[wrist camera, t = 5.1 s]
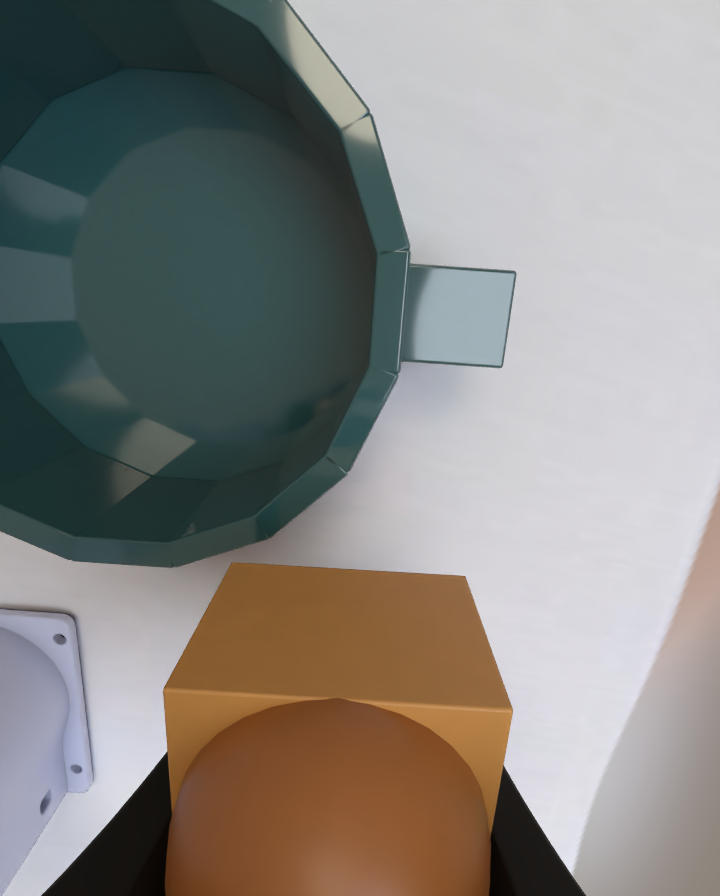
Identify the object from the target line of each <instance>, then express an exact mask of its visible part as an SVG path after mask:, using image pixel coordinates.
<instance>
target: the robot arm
mask: <svg viewBox="0 0 720 896" xmlns="http://www.w3.org/2000/svg"><path fill="white" fill-rule="evenodd" d="M60 634H61V635H63V636H64V637H65V638H63V637H62V636H60ZM92 783H93V773H92V764H91V756H90V747H89V738H88V730H87V721H86V712H85V704H84V695H83V686H82V678H81V669H80V660H79V652H78V643H77V634H76V625H75V622H74V620H73V619H72V618H71V617H70V616H68V615H66V614H61V613H47V612H32V611H17V610H3V609H0V896H2V895H3V894H4V892H5V890H6V889H7V887H8V886H9V884H10V882H11V881H12V879H13V878H14V876H15V874H16V873H17V871H18V870H19V868H20V866H21V865H22V863H23V862H24V860H25V858H26V857H27V855H28V854H29V852H30V850H31V849H32V847H33V846H34V844H35V842H36V841H37V839H38V838H39V836H40V834H41V833H42V831H43V830H44V828H45V826H46V825H47V823H48V822H49V820H50V818H51V817H52V815H53V814H54V812H55V810H56V809H57V807H58V806H59V804H60V802H61V801H62V799H63V798H64V796H65V794H66V793H67V792H70V793H84V792H86V791H88V789H89V788H90V786H91V785H92ZM171 818H172V806H171V792H170V779H169V765H168V751H167V752H166V754H165V755H164V756H163V757H162V759H161V760H160V761H159V763H158V764H157V765H156V766H155V768H154V769H153V770H152V771H151V773H150V774H149V775H148V776H147V778H146V779H145V780H144V781H143V783H142V784H141V785H140V786H139V787H138V789H137V790H136V791H135V792H134V793H133V795H132V796H131V797H130V798H129V799H128V801H127V802H126V803H125V804H124V805H123V807H122V808H121V809H120V810H119V811H118V813H117V814H116V815H115V816H114V817H113V818H112V820H111V821H110V822H109V823H108V824H107V825H106V826H105V828H104V829H103V830H102V831H101V832H100V833H99V834H98V835H97V836H96V838H95V839H94V840H93V841H92V842H91V843H90V844H89V845H88V846H87V848H86V849H85V850H84V851H83V852H82V853H81V854H80V855H79V856H78V858H77V859H76V860H75V861H74V862H73V863H72V864H71V865H70V866H69V867H68V868H67V869H66V871H65V872H64V873H63V874H62V875H61V876H60V877H59V878H58V879H57V880H56V881H55V882H54V883H53V884H52V885H51V886H50V887H49V888H48V889H47V890H46V891H45V892H44V893H43V894H42V895H41V896H165V872H166V858H167V847H168V836H169V825H170V821H171ZM490 840H491V860H490V889H489V896H586V895H585V894H584V892H583V891H582V889H581V888H580V886H579V885H578V884H577V882H576V881H575V879H574V878H573V876H572V875H571V873H570V872H569V870H568V869H567V867H566V866H565V864H564V863H563V861H562V860H561V858H560V857H559V855H558V854H557V852H556V851H555V849H554V848H553V846H552V845H551V843H550V841H549V840H548V838H547V837H546V835H545V834H544V832H543V831H542V829H541V827H540V826H539V824H538V823H537V821H536V820H535V818H534V816H533V815H532V813H531V811H530V810H529V808H528V806H527V805H526V803H525V802H524V800H523V798H522V796H521V795H520V793H519V791H518V790H517V788H516V786H515V785H514V783H513V781H512V779H511V778H510V776H509V774H508V772H507V771H506V769H505V767H504V765H503V770H502V775H501V781H500V787H499V792H498V798H497V804H496V809H495V815H494V821H493V826H492V832H491V837H490Z"/></svg>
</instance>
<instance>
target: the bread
mask: <svg viewBox="0 0 720 896" xmlns="http://www.w3.org/2000/svg"><path fill="white" fill-rule="evenodd" d="M163 696H164V709H165V723H166V737H167V751H168V765H169V779H170V792H171V806H172V818H171V821H170V825H169V836H168V847H167V858H166V872H165V896H489V889H490V860H491V840H490V837H491V832H492V826H493V821H494V815H495V809H496V804H497V798H498V792H499V787H500V781H501V775H502V770H503V764H504V759H505V753H506V747H507V742H508V736H509V730H510V725H511V719H512V714H513V709H512V706H511V703H510V701H509V698H508V695H507V692H506V689H505V686H504V684H503V681H502V678H501V675H500V672H499V670H498V667H497V664H496V661H495V658H494V656H493V653H492V650H491V647H490V644H489V642H488V639H487V636H486V633H485V630H484V628H483V625H482V622H481V619H480V616H479V614H478V611H477V608H476V605H475V602H474V599H473V597H472V594H471V591H470V588H469V585H468V583H467V580H466V577H465V576H456V575H439V574H422V573H405V572H388V571H371V570H354V569H337V568H320V567H303V566H286V565H269V564H252V563H235V562H233V563H231V565H230V567H229V569H228V571H227V572H226V574H225V576H224V578H223V580H222V582H221V584H220V585H219V587H218V589H217V591H216V593H215V595H214V596H213V598H212V600H211V602H210V604H209V606H208V608H207V609H206V611H205V613H204V615H203V617H202V619H201V620H200V622H199V624H198V626H197V628H196V630H195V632H194V633H193V635H192V637H191V639H190V641H189V643H188V644H187V646H186V648H185V650H184V652H183V654H182V656H181V657H180V659H179V661H178V663H177V665H176V667H175V668H174V670H173V672H172V674H171V676H170V678H169V680H168V681H167V683H166V685H165V687H164V689H163Z"/></svg>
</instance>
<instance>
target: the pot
mask: <svg viewBox="0 0 720 896" xmlns="http://www.w3.org/2000/svg"><path fill="white" fill-rule="evenodd" d="M409 249H410V243H409V239H408V236H407V233H406V229H405V226H404V222H403V219H402V215H401V212H400V208H399V205H398V201H397V198H396V194H395V191H394V187H393V184H392V180H391V177H390V174H389V170H388V167H387V163H386V160H385V156H384V153H383V149H382V146H381V142H380V139H379V135H378V132H377V128H376V125H375V121H374V118H373V116H372V114H370V110H369V108H368V107H367V105H366V104H365V103H364V101H363V100H362V99H361V97H360V96H359V95H358V93H357V92H356V91H355V89H354V88H353V87H352V85H351V84H350V83H349V81H348V80H347V79H346V77H345V76H344V75H343V74H342V72H341V71H340V70H339V68H338V67H337V66H336V64H335V63H334V62H333V60H332V59H331V58H330V56H329V55H328V54H327V52H326V51H325V50H324V48H323V47H322V46H321V44H320V43H319V42H318V41H317V39H316V38H315V37H314V35H313V34H312V33H311V31H310V30H309V29H308V27H307V26H306V25H305V23H304V22H303V21H302V19H301V18H300V17H299V15H298V14H297V13H296V11H295V10H294V9H293V7H292V6H291V5H290V4H289V2H288V1H287V0H0V531H1V532H3V533H6V534H8V535H10V536H13V537H15V538H18V539H20V540H22V541H25V542H27V543H29V544H32V545H34V546H37V547H39V548H41V549H44V550H46V551H48V552H51V553H53V554H56V555H58V556H60V557H63V558H65V559H67V560H72V561H78V562H92V563H107V564H121V565H136V566H150V567H165V568H173V567H179V566H182V565H186V564H189V563H192V562H195V561H199V560H202V559H205V558H208V557H212V556H215V555H218V554H222V553H225V552H228V551H231V550H235V549H238V548H241V547H244V546H248V545H251V544H254V543H258V542H261V541H264V540H267V539H269V538H272V537H273V536H274V535H275V534H277V533H278V532H279V531H280V530H281V529H283V528H284V527H285V526H286V525H287V524H289V523H290V522H291V521H292V520H293V519H295V518H296V517H297V516H298V515H299V514H301V513H302V512H303V511H304V510H306V509H307V508H308V507H309V506H310V505H312V504H313V503H314V502H315V501H316V500H318V499H319V498H320V497H321V496H322V495H324V494H325V493H326V492H327V491H328V490H330V489H331V488H332V487H333V486H335V485H336V484H337V483H338V482H339V481H341V480H342V479H343V478H344V477H345V476H347V474H348V472H349V471H350V470H351V468H352V466H353V465H354V463H355V461H356V459H357V457H358V455H359V453H360V451H361V449H362V447H363V445H364V443H365V441H366V439H367V437H368V436H369V434H370V432H371V430H372V428H373V426H374V424H375V422H376V420H377V418H378V416H379V414H380V412H381V410H382V408H383V407H384V405H385V403H386V401H387V399H388V397H389V395H390V393H391V391H392V389H393V387H394V385H395V383H396V381H397V379H398V376H399V375H398V374H399V373H400V369H401V361H402V362H416V363H431V364H445V365H460V366H474V367H489V368H502V366H503V362H504V355H505V348H506V342H507V335H508V328H509V321H510V314H511V308H512V301H513V294H514V287H515V281H516V272H515V271H511V270H497V269H482V268H468V267H453V266H439V265H424V264H410V257H411V252H410V250H409Z"/></svg>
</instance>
